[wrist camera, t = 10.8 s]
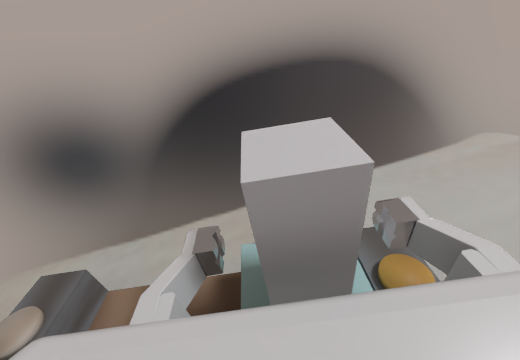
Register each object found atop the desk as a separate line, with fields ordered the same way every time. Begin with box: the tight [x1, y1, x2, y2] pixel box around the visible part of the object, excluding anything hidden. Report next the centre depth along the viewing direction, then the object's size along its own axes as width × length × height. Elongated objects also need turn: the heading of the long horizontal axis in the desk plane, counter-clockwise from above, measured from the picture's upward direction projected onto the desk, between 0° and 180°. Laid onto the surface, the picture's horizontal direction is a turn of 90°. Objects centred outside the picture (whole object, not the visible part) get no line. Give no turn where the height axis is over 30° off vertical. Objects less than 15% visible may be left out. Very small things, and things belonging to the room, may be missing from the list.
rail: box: [0, 227, 440, 360], centre depth 16 cm, size 30×9×6 cm, turn 94°
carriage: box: [241, 117, 374, 309], centre depth 12 cm, size 8×8×13 cm
